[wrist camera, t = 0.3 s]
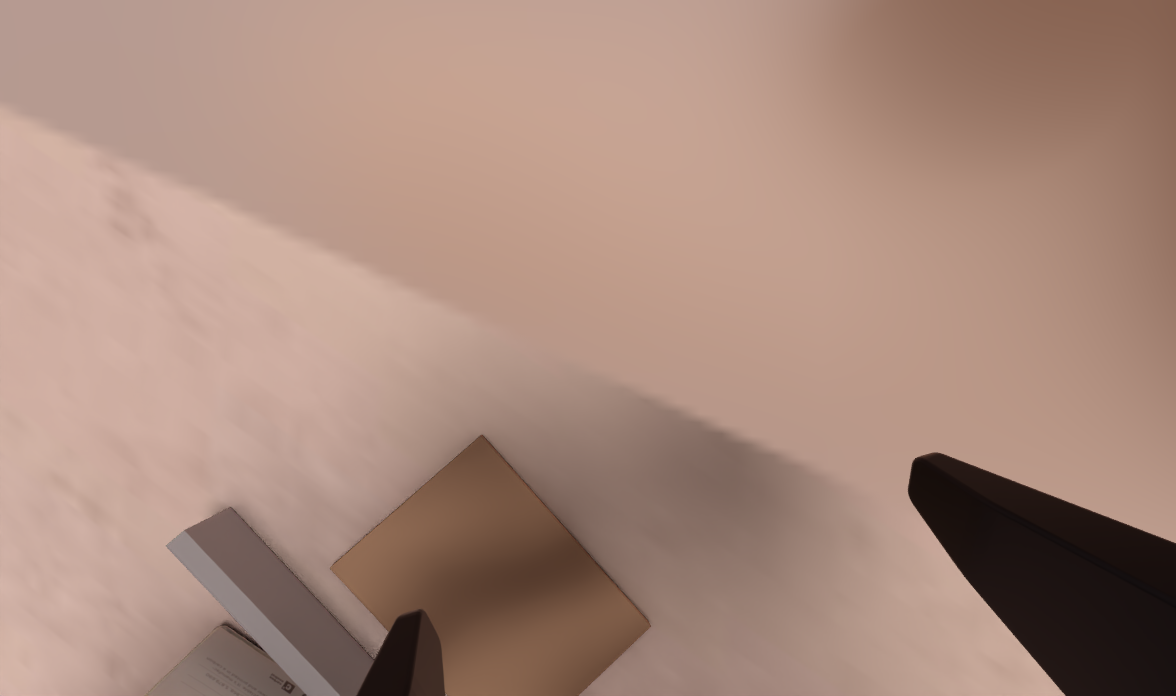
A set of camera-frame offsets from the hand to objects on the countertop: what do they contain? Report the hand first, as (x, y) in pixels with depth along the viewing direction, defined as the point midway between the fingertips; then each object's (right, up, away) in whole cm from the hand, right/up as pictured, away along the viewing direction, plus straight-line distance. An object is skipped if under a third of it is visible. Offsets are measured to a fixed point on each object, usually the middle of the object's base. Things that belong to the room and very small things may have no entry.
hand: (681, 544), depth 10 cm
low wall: (-11, -9, +13) cm, 20 cm away
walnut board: (-6, -7, +14) cm, 16 cm away
